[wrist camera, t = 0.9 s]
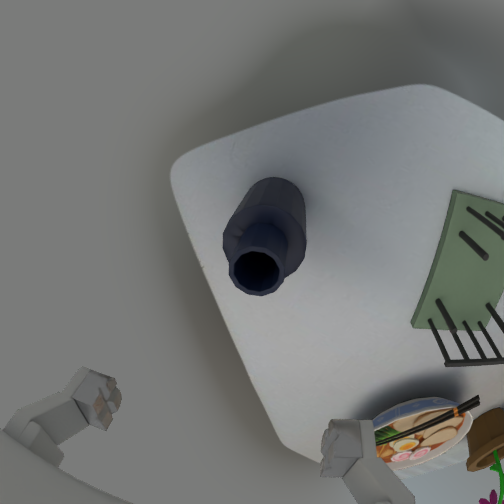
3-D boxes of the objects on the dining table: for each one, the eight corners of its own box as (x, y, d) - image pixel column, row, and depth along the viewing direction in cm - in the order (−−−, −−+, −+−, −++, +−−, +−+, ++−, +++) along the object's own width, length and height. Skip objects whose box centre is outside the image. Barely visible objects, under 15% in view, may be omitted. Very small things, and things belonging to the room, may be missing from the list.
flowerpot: (447, 438, 47) (465, 548, 20) (490, 400, 40) (525, 519, 14) (480, 438, 47) (500, 532, 20) (519, 402, 41) (552, 502, 14)
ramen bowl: (362, 453, 51) (364, 485, 44) (319, 407, 45) (318, 448, 37) (470, 411, 42) (480, 441, 35) (461, 347, 36) (479, 386, 28)
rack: (452, 189, 27) (498, 218, 19) (525, 210, 26) (569, 240, 17) (410, 322, 35) (430, 374, 27) (480, 326, 34) (506, 370, 25)
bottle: (247, 174, 30) (208, 220, 18) (307, 180, 30) (313, 232, 17) (243, 230, 33) (208, 304, 21) (300, 237, 32) (298, 317, 20)
